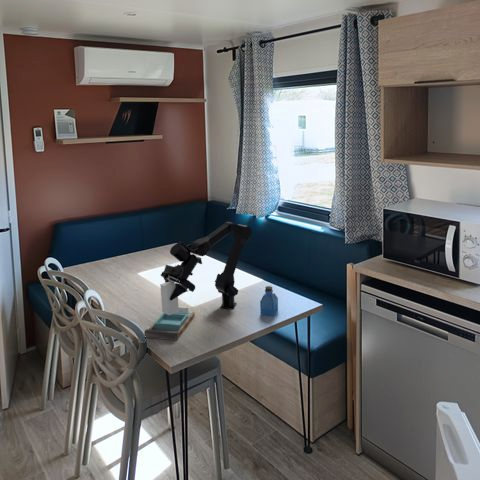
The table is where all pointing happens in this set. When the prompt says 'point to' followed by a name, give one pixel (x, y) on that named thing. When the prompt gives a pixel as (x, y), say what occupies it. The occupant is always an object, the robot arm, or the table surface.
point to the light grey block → (168, 298)
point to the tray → (172, 320)
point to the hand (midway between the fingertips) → (166, 298)
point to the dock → (168, 334)
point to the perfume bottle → (269, 302)
